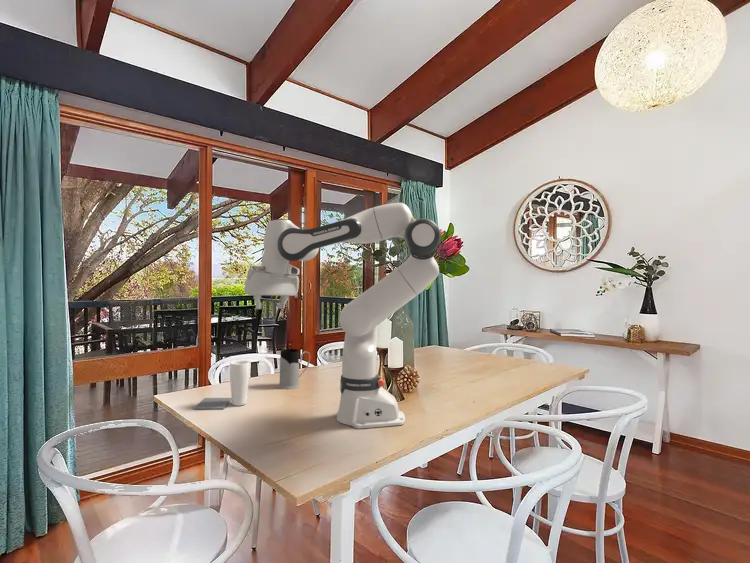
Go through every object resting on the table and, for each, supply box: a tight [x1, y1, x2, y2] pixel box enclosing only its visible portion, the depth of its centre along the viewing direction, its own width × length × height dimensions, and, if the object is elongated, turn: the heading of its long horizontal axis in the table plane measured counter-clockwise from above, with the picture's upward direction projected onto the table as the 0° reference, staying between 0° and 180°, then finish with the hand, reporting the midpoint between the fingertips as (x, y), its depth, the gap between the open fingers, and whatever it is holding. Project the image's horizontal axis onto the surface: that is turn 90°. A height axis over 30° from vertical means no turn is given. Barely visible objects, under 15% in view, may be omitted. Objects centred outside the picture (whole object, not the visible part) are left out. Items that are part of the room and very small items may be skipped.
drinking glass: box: [229, 360, 251, 407], centre depth 151 cm, size 7×7×15 cm
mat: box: [192, 397, 232, 411], centre depth 151 cm, size 10×12×1 cm
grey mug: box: [278, 348, 311, 390], centre depth 177 cm, size 9×14×15 cm, turn 131°
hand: (270, 308), depth 141 cm, fingers open, 8 cm apart
